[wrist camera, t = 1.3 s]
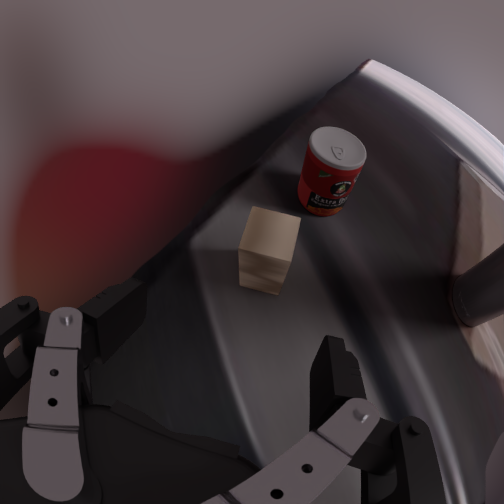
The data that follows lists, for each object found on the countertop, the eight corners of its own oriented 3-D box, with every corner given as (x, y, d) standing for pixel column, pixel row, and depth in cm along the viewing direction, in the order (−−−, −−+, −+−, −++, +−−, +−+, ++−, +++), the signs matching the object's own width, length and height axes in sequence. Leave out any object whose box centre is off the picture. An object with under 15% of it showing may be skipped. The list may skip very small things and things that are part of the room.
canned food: (304, 220, 39) (322, 167, 29) (290, 179, 42) (301, 125, 33) (350, 215, 40) (377, 166, 30) (333, 176, 43) (352, 126, 33)
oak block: (287, 260, 36) (300, 218, 27) (278, 295, 34) (291, 261, 25) (250, 251, 36) (252, 206, 27) (239, 285, 34) (238, 248, 25)
